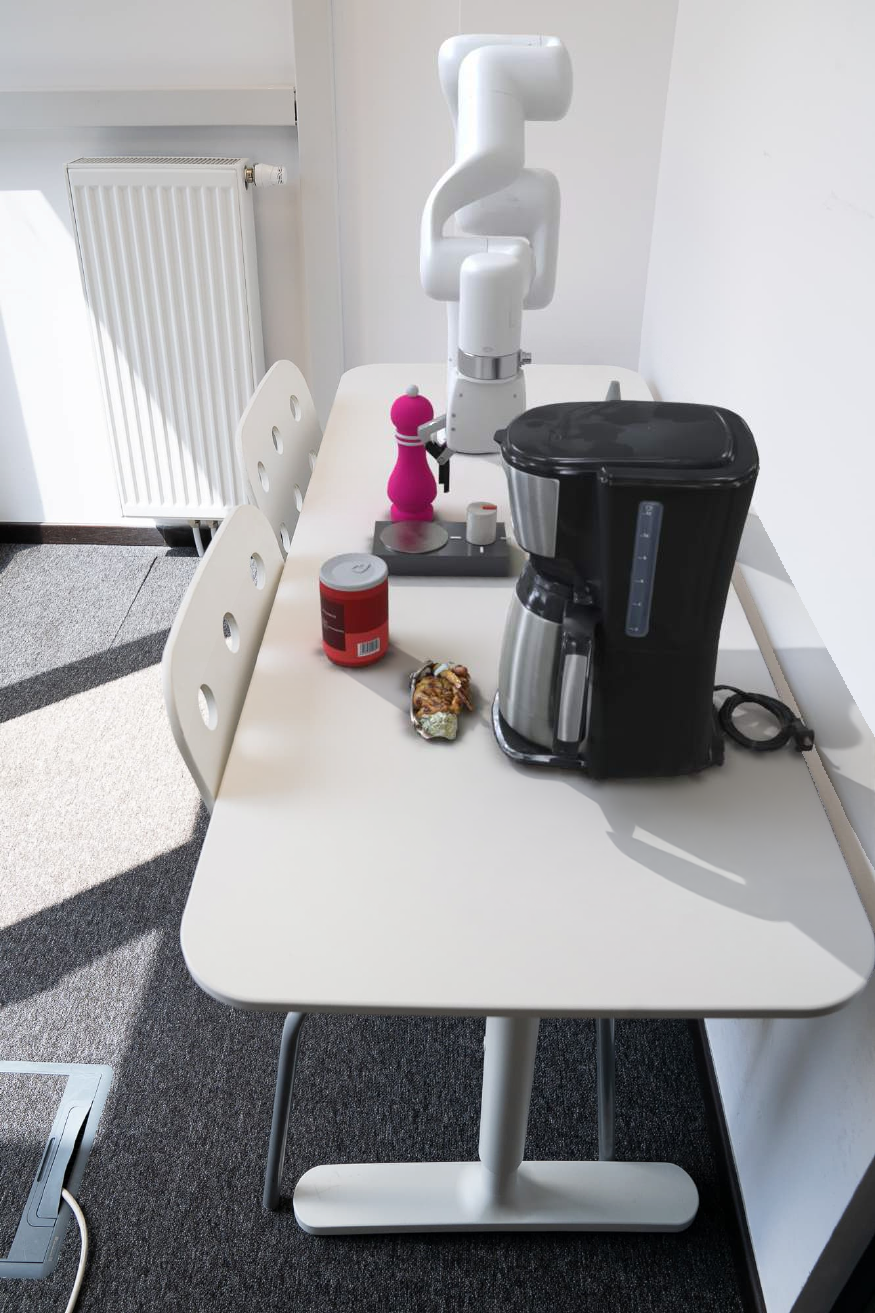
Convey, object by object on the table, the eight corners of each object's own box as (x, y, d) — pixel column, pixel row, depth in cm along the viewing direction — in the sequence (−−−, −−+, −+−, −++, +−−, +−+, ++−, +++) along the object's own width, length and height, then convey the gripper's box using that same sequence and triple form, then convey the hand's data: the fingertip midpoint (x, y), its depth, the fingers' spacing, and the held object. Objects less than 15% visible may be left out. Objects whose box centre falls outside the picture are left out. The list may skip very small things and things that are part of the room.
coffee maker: (461, 681, 116) (471, 392, 97) (719, 643, 124) (775, 368, 105) (527, 815, 98) (555, 492, 79) (825, 762, 105) (915, 454, 87)
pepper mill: (386, 507, 153) (384, 376, 142) (434, 506, 154) (436, 375, 142) (388, 529, 147) (386, 394, 136) (438, 528, 148) (441, 393, 137)
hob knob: (466, 545, 137) (467, 512, 134) (465, 531, 140) (466, 499, 138) (496, 545, 137) (498, 512, 135) (494, 531, 141) (496, 499, 138)
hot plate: (372, 575, 136) (371, 553, 134) (375, 539, 145) (375, 519, 143) (512, 576, 136) (513, 555, 135) (507, 541, 145) (508, 521, 143)
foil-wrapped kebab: (409, 742, 107) (409, 714, 105) (408, 675, 117) (408, 649, 115) (476, 741, 107) (477, 714, 105) (469, 675, 117) (470, 649, 115)
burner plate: (381, 522, 143) (381, 520, 142) (447, 522, 143) (447, 520, 142) (378, 553, 135) (378, 551, 135) (448, 554, 135) (448, 552, 135)
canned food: (398, 638, 123) (398, 558, 117) (373, 674, 117) (371, 591, 111) (340, 626, 125) (336, 547, 119) (312, 661, 119) (307, 579, 113)
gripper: (556, 352, 129) (545, 477, 139) (418, 350, 128) (417, 475, 138) (562, 373, 123) (550, 502, 132) (417, 371, 122) (416, 501, 132)
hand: (482, 488), depth 135 cm, fingers open, 9 cm apart
